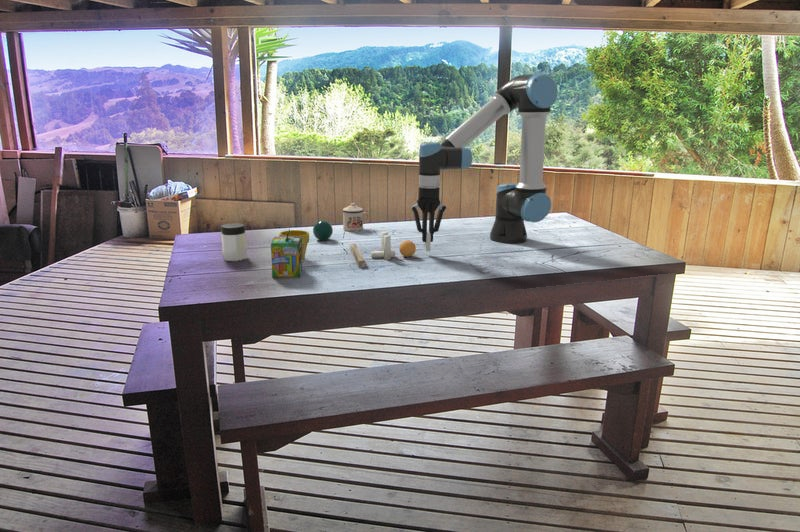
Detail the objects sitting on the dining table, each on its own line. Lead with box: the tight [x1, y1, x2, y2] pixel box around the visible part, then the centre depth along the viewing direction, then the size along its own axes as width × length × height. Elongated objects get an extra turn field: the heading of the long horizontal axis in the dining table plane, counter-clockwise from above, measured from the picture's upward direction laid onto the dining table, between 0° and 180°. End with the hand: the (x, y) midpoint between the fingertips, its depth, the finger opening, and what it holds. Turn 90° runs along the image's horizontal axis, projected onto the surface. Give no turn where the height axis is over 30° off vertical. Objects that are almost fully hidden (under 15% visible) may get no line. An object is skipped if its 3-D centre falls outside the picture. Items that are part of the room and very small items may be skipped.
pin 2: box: [383, 234, 392, 261], centre depth 204 cm, size 2×2×8 cm
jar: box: [220, 222, 248, 262], centre depth 201 cm, size 9×8×12 cm
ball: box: [399, 240, 417, 258], centre depth 208 cm, size 6×6×6 cm
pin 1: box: [381, 231, 389, 251], centre depth 208 cm, size 2×2×8 cm
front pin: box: [370, 250, 396, 259], centre depth 207 cm, size 2×2×8 cm
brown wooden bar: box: [349, 243, 366, 269], centre depth 205 cm, size 2×24×2 cm, turn 12°
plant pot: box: [278, 229, 310, 261], centre depth 201 cm, size 10×10×10 cm
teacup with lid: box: [342, 202, 370, 232], centre depth 250 cm, size 12×9×12 cm
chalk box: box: [270, 228, 303, 279], centre depth 184 cm, size 9×9×15 cm
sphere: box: [312, 220, 333, 241], centre depth 230 cm, size 8×8×8 cm
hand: (427, 250), depth 210 cm, fingers closed
